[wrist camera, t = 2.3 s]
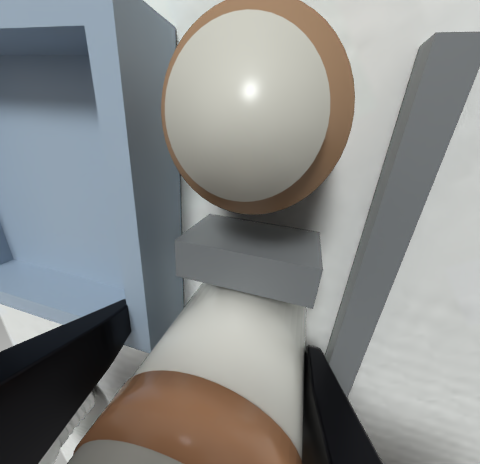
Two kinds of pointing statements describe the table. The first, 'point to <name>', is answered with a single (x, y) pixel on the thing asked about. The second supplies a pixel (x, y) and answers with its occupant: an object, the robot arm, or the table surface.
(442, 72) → the grey bar and blocks
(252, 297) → the cylinder
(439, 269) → the table surface
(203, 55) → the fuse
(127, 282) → the tray
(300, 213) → the table surface
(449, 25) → the table surface
